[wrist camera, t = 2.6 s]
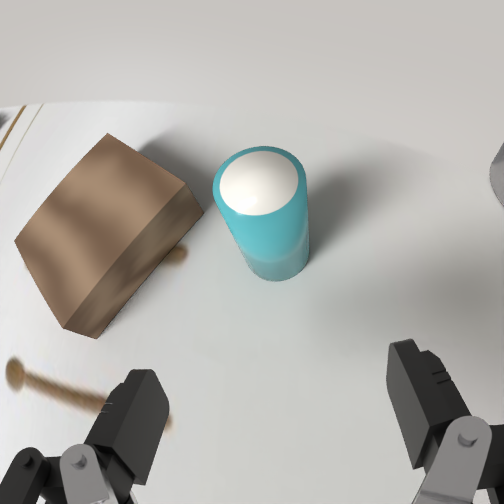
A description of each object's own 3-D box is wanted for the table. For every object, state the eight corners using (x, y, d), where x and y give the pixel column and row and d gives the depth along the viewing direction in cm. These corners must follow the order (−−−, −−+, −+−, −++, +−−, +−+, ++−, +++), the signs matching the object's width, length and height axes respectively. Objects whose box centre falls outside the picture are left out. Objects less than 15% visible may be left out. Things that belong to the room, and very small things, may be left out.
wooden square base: (127, 159, 35) (107, 133, 31) (203, 213, 30) (185, 183, 26) (41, 258, 32) (14, 240, 28) (96, 339, 27) (62, 328, 22)
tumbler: (271, 211, 29) (252, 134, 20) (322, 243, 27) (324, 170, 18) (232, 257, 28) (194, 192, 19) (282, 294, 26) (265, 240, 17)
